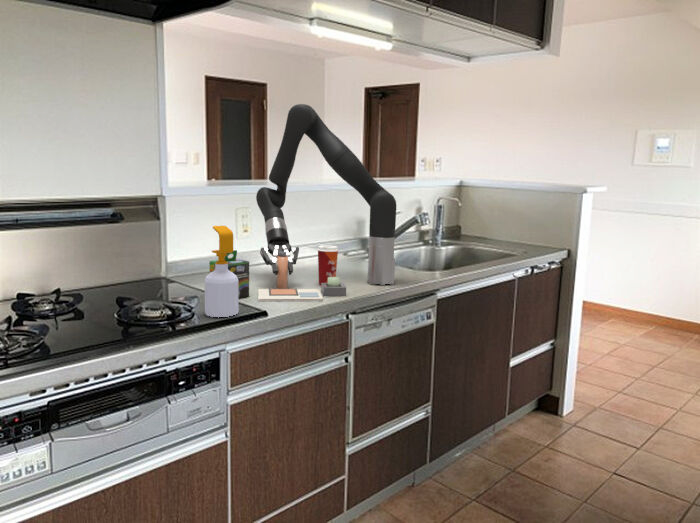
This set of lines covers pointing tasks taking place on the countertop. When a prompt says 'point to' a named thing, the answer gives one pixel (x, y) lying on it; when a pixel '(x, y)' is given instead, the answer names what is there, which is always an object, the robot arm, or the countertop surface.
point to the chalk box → (237, 272)
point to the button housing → (333, 290)
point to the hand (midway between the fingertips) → (283, 273)
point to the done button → (333, 281)
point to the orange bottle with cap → (282, 270)
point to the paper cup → (327, 262)
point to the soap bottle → (222, 280)
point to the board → (289, 295)
